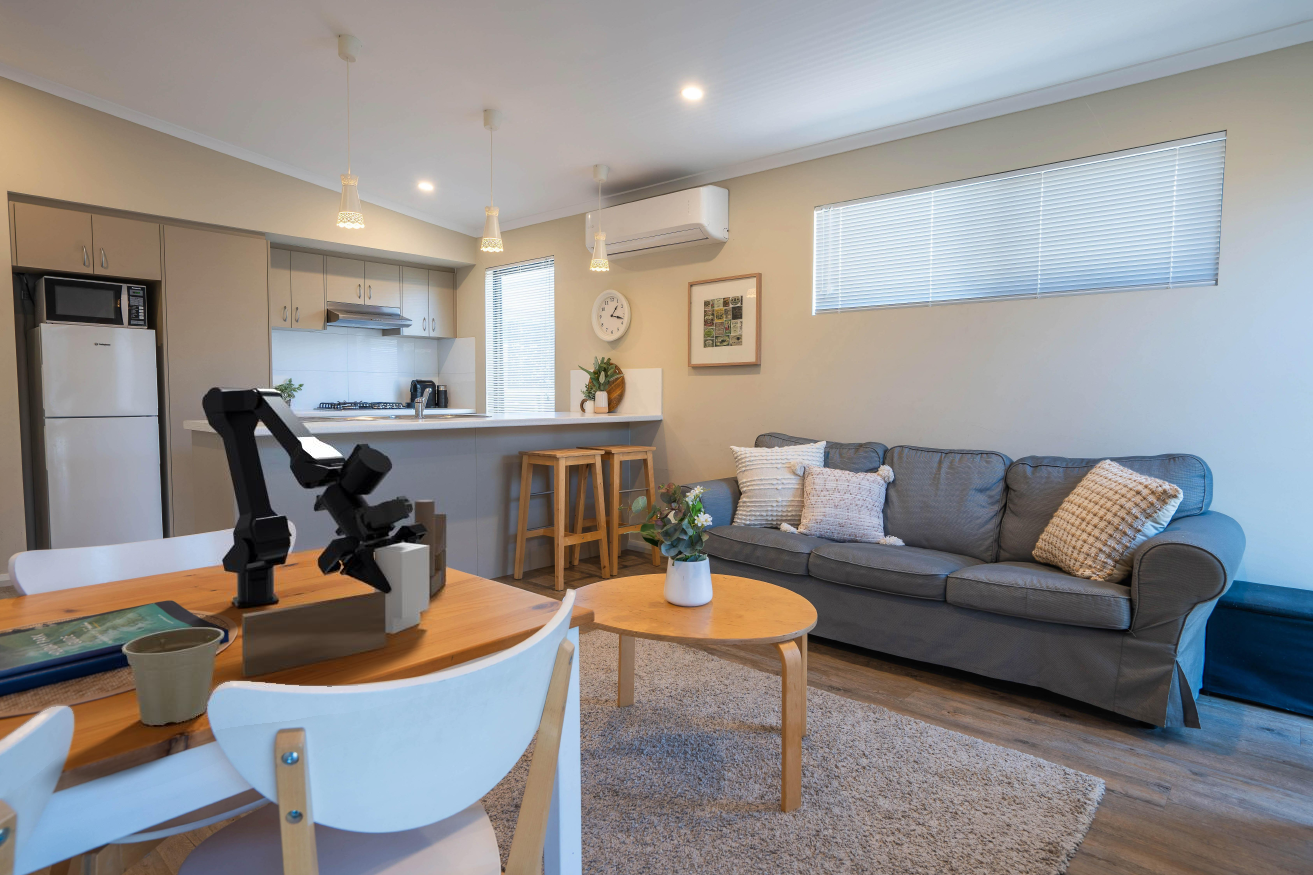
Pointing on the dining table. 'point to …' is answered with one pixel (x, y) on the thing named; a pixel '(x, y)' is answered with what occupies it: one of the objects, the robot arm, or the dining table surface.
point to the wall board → (312, 632)
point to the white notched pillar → (404, 583)
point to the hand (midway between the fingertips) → (404, 586)
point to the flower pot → (173, 672)
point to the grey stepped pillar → (433, 541)
